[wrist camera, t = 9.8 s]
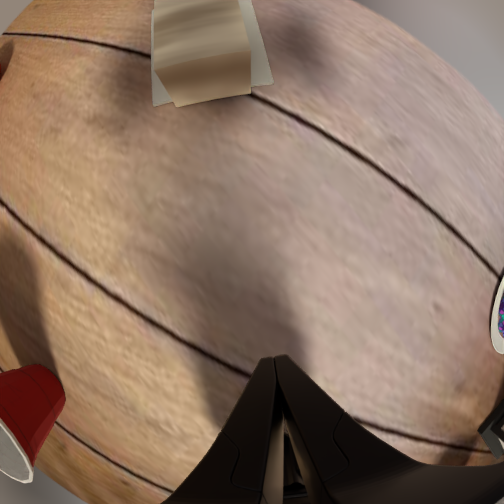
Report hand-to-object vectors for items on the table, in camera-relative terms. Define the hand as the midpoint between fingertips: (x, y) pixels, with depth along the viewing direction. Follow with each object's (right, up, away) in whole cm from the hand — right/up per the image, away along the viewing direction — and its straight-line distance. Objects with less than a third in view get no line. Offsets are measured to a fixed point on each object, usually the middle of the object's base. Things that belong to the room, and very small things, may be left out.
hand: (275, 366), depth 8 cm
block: (-4, +15, +8) cm, 18 cm away
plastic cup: (-23, -11, +13) cm, 29 cm away
